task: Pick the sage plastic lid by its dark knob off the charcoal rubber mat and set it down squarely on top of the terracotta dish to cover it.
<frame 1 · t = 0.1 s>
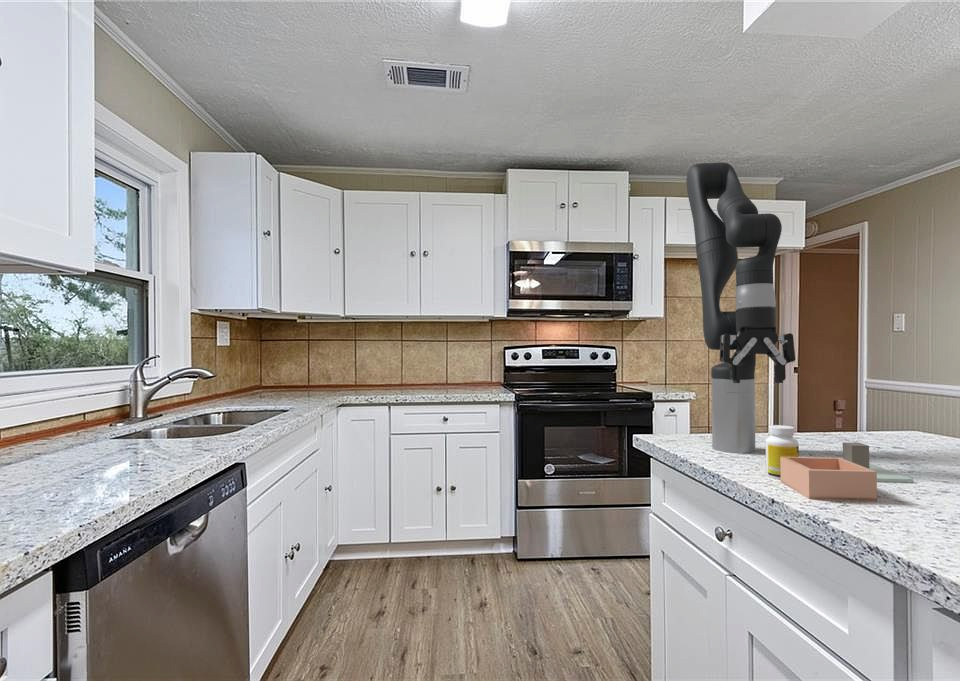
hand: (757, 383, 106), 17 cm above the worktop, tool pointing down, fingers open, 8 cm apart
lid: (856, 473, 96), resting on mat
supplement bottle: (782, 479, 95), on the worktop
mat: (856, 475, 96), on the worktop
dish: (825, 493, 85), on the worktop
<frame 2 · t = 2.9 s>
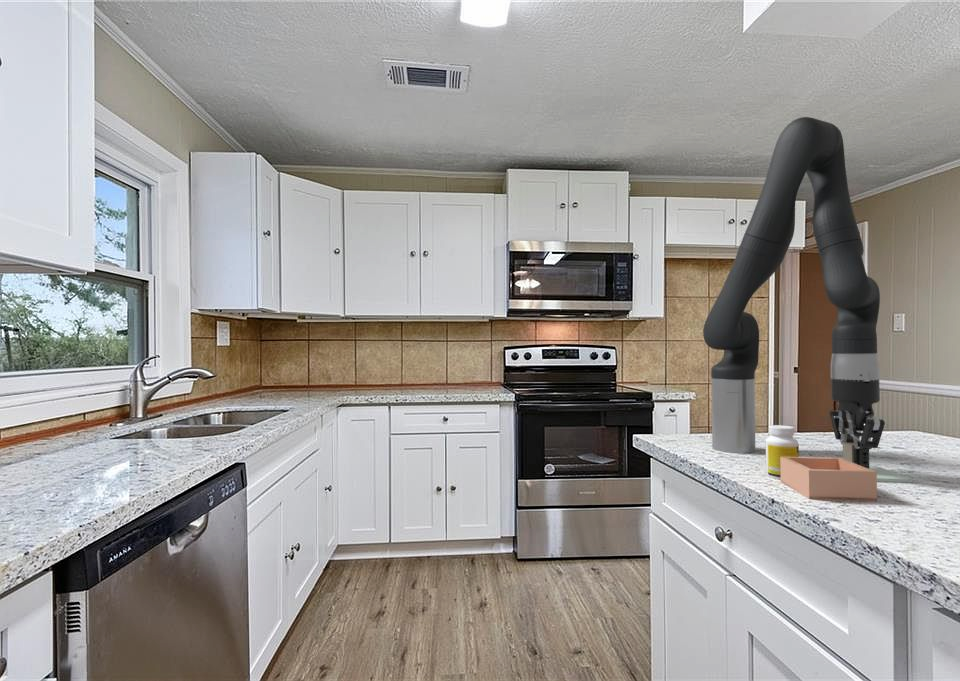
hand: (856, 466, 96), 2 cm above the worktop, tool pointing down, fingers closed on lid, 3 cm apart
lid: (856, 473, 96), resting on mat, touching gripper
everything else where it was.
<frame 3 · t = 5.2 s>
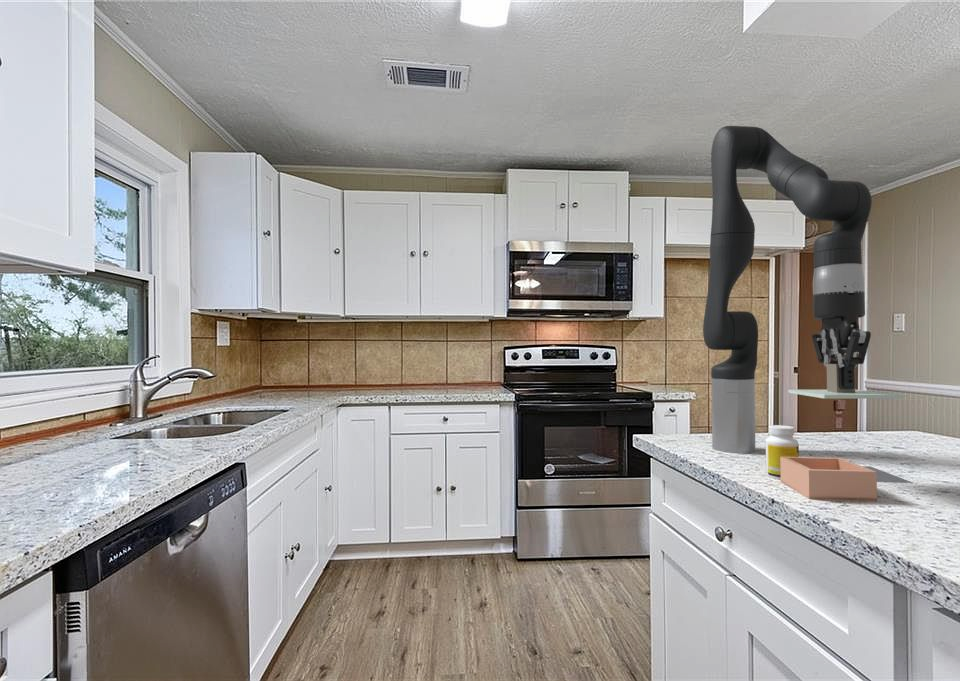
hand: (840, 387, 89), 18 cm above the worktop, tool pointing down, fingers closed on lid, 3 cm apart
lid: (841, 395, 89), point 16 cm above the worktop, touching gripper
everything else where it was.
when the fingers open (8 cm above the worktop, at t = 7.3 s): lid drops 1 cm, resting on dish.
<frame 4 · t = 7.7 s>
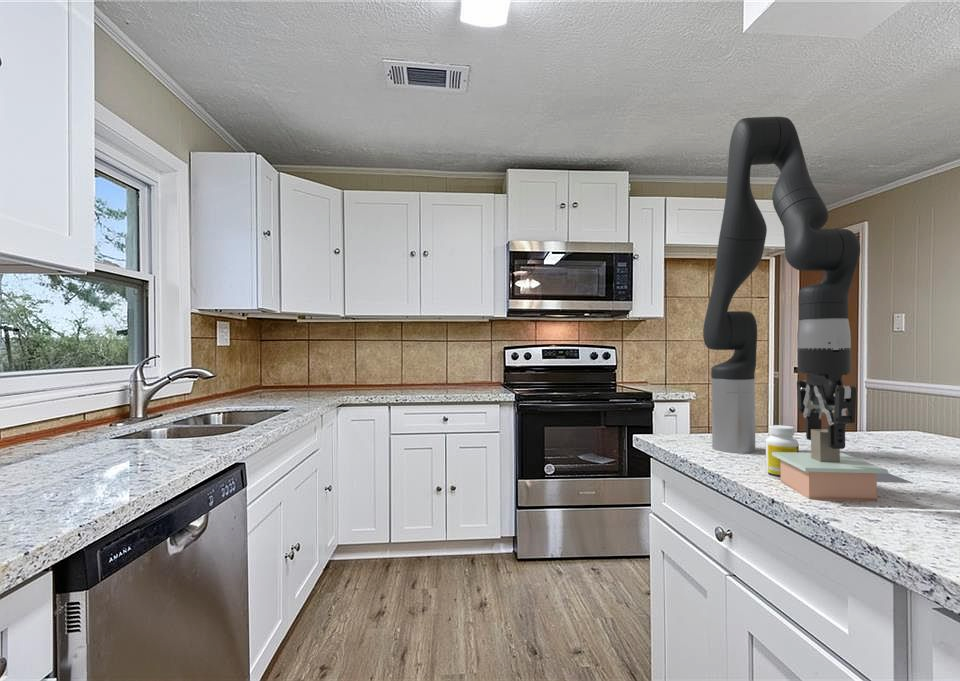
hand: (824, 443, 85), 8 cm above the worktop, tool pointing down, fingers open, 6 cm apart
lid: (825, 463, 85), point 5 cm above the worktop, touching dish
everything else where it was.
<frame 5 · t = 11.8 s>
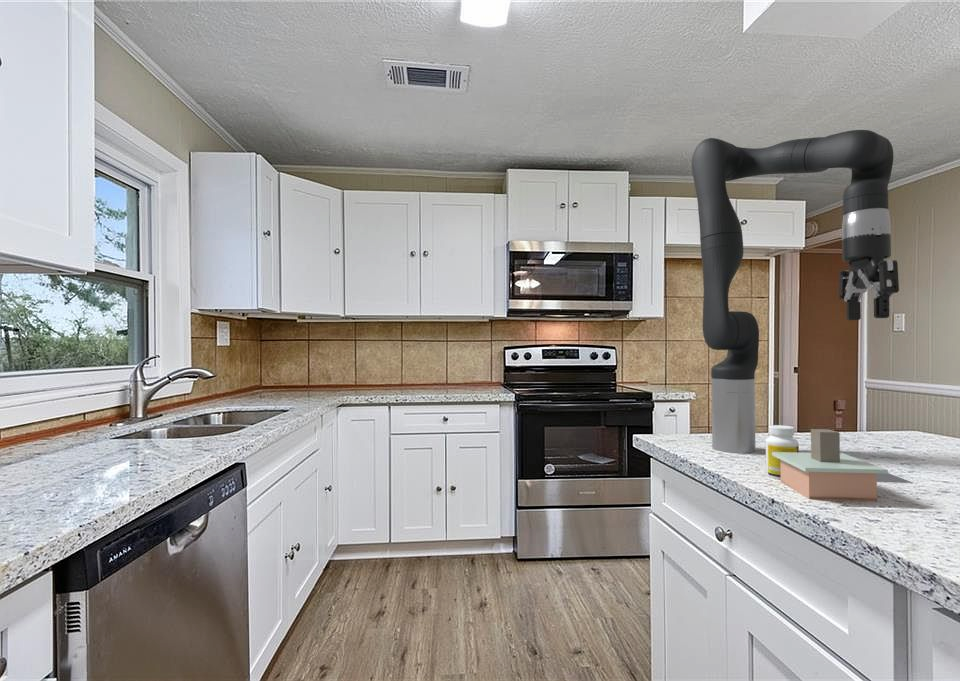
hand: (867, 319, 97), 30 cm above the worktop, tool pointing down, fingers open, 8 cm apart
nothing on the worktop moved.
at the end: lid 0.0 cm off-centre on the dish, point 5.0 cm above the dish's base; lid tilted 0°; the gripper is holding nothing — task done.
